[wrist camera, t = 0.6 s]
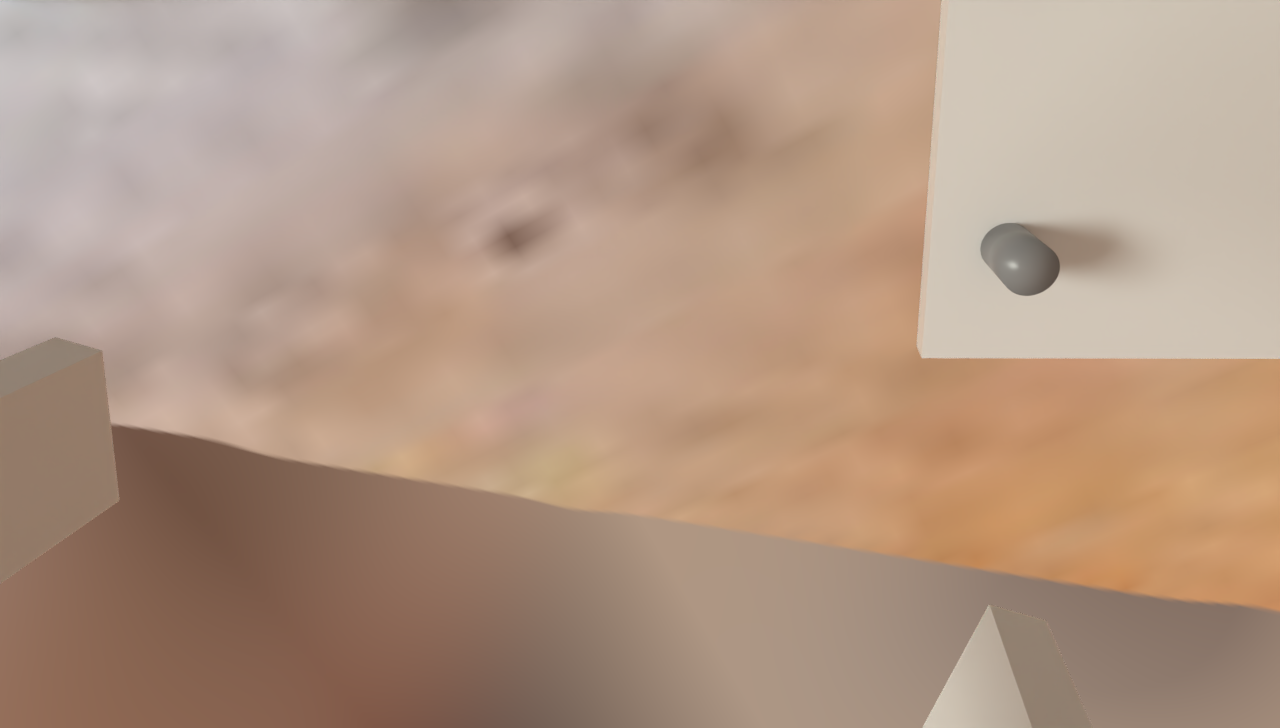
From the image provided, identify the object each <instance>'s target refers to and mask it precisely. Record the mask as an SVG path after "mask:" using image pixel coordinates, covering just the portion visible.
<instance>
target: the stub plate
mask: <svg viewBox="0 0 1280 728" xmlns="http://www.w3.org/2000/svg"><path fill="white" fill-rule="evenodd" d="M917 348H918V350H919V353H920V355H921V358H1173V359H1280V0H942V1H941V15H940V29H939V43H938V57H937V70H936V84H935V98H934V112H933V126H932V139H931V153H930V167H929V181H928V195H927V208H926V222H925V236H924V250H923V264H922V278H921V291H920V305H919V319H918V333H917Z"/></svg>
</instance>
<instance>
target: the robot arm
mask: <svg viewBox="0 0 1280 728" xmlns="http://www.w3.org/2000/svg"><path fill="white" fill-rule="evenodd" d="M118 501H119V492H118V483H117V475H116V466H115V457H114V449H113V440H112V432H111V423H110V414H109V405H108V397H107V388H106V379H105V371H104V362H103V353H102V350H98V349H95V348H91V347H88V346H84V345H81V344H77V343H74V342H70V341H67V340H63V339H60V338H56V337H55V338H52V339H50V340H48V341H45V342H43V343H40V344H38V345H36V346H33V347H31V348H28V349H26V350H24V351H21V352H19V353H16V354H14V355H12V356H9V357H7V358H4V359H2V360H0V583H2V582H3V581H5V580H6V579H7V578H9V577H11V576H12V575H13V574H15V573H16V572H18V571H19V570H21V569H22V568H23V567H25V566H26V565H28V564H29V563H31V562H32V561H33V560H35V559H36V558H38V557H39V556H40V555H42V554H43V553H45V552H46V551H48V550H49V549H50V548H52V547H53V546H55V545H56V544H58V543H59V542H61V541H62V540H63V539H65V538H66V537H68V536H69V535H71V534H72V533H74V532H75V531H76V530H78V529H79V528H81V527H82V526H84V525H85V524H86V523H88V522H89V521H91V520H92V519H94V518H95V517H96V516H98V515H99V514H101V513H102V512H104V511H105V510H106V509H108V508H109V507H111V506H112V505H114V504H115V503H116V502H118ZM922 728H1093V726H1092V724H1091V722H1090V720H1089V717H1088V715H1087V713H1086V711H1085V708H1084V706H1083V703H1082V701H1081V699H1080V697H1079V694H1078V692H1077V690H1076V687H1075V685H1074V683H1073V680H1072V678H1071V676H1070V673H1069V671H1068V669H1067V667H1066V664H1065V662H1064V660H1063V657H1062V655H1061V653H1060V650H1059V648H1058V646H1057V643H1056V641H1055V639H1054V637H1053V634H1052V632H1051V630H1050V627H1049V625H1048V623H1047V621H1046V620H1043V619H1040V618H1036V617H1033V616H1029V615H1026V614H1022V613H1019V612H1015V611H1011V610H1008V609H1005V608H1001V607H998V606H994V605H990V604H989V606H988V607H987V609H986V611H985V613H984V615H983V617H982V618H981V620H980V622H979V624H978V626H977V628H976V629H975V631H974V633H973V635H972V637H971V639H970V641H969V642H968V644H967V646H966V648H965V650H964V652H963V654H962V655H961V657H960V659H959V661H958V663H957V665H956V667H955V668H954V670H953V672H952V674H951V676H950V677H949V680H948V681H947V683H946V685H945V687H944V689H943V690H942V692H941V694H940V696H939V698H938V700H937V702H936V703H935V706H934V707H933V709H932V711H931V713H930V715H929V716H928V718H927V720H926V722H925V724H924V726H923V727H922Z"/></svg>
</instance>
